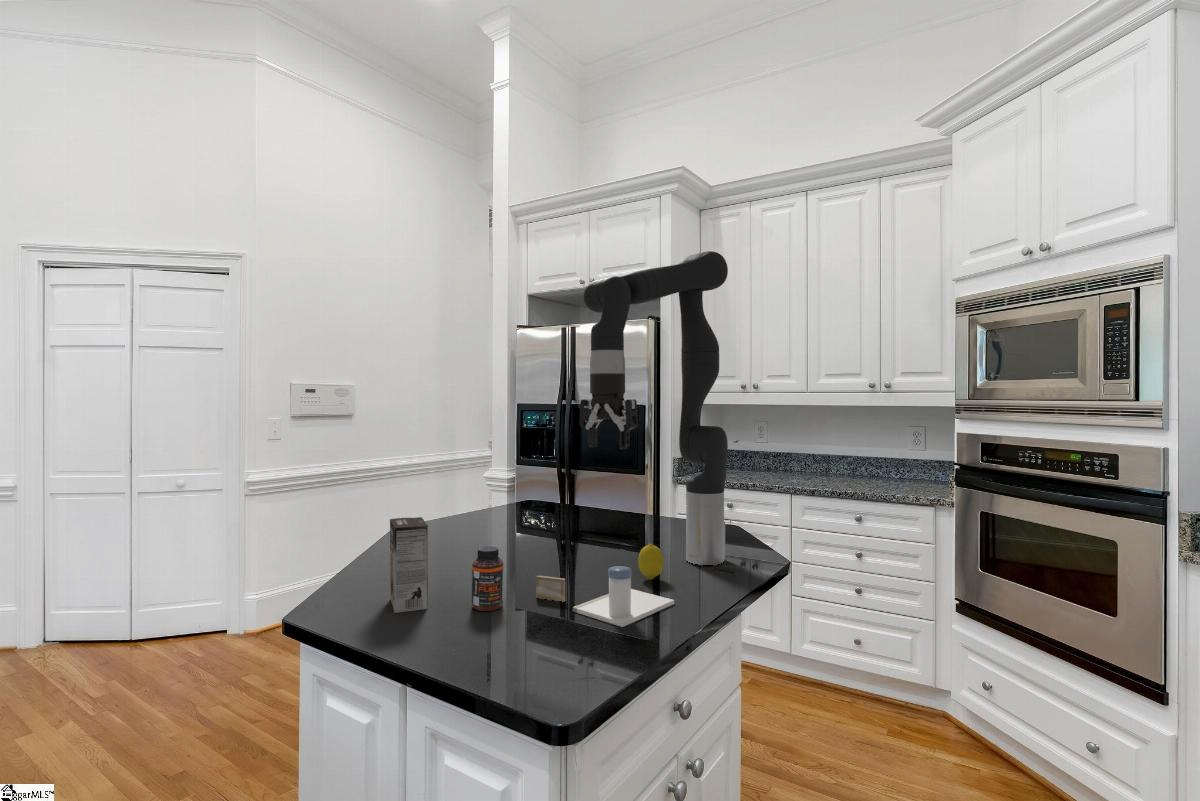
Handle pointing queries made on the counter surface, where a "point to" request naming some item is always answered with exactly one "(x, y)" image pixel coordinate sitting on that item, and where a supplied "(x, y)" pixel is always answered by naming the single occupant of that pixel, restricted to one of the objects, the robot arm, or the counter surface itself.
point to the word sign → (550, 588)
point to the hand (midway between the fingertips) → (608, 448)
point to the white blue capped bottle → (619, 591)
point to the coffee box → (408, 564)
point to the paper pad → (640, 607)
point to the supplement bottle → (487, 580)
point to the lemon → (650, 561)
